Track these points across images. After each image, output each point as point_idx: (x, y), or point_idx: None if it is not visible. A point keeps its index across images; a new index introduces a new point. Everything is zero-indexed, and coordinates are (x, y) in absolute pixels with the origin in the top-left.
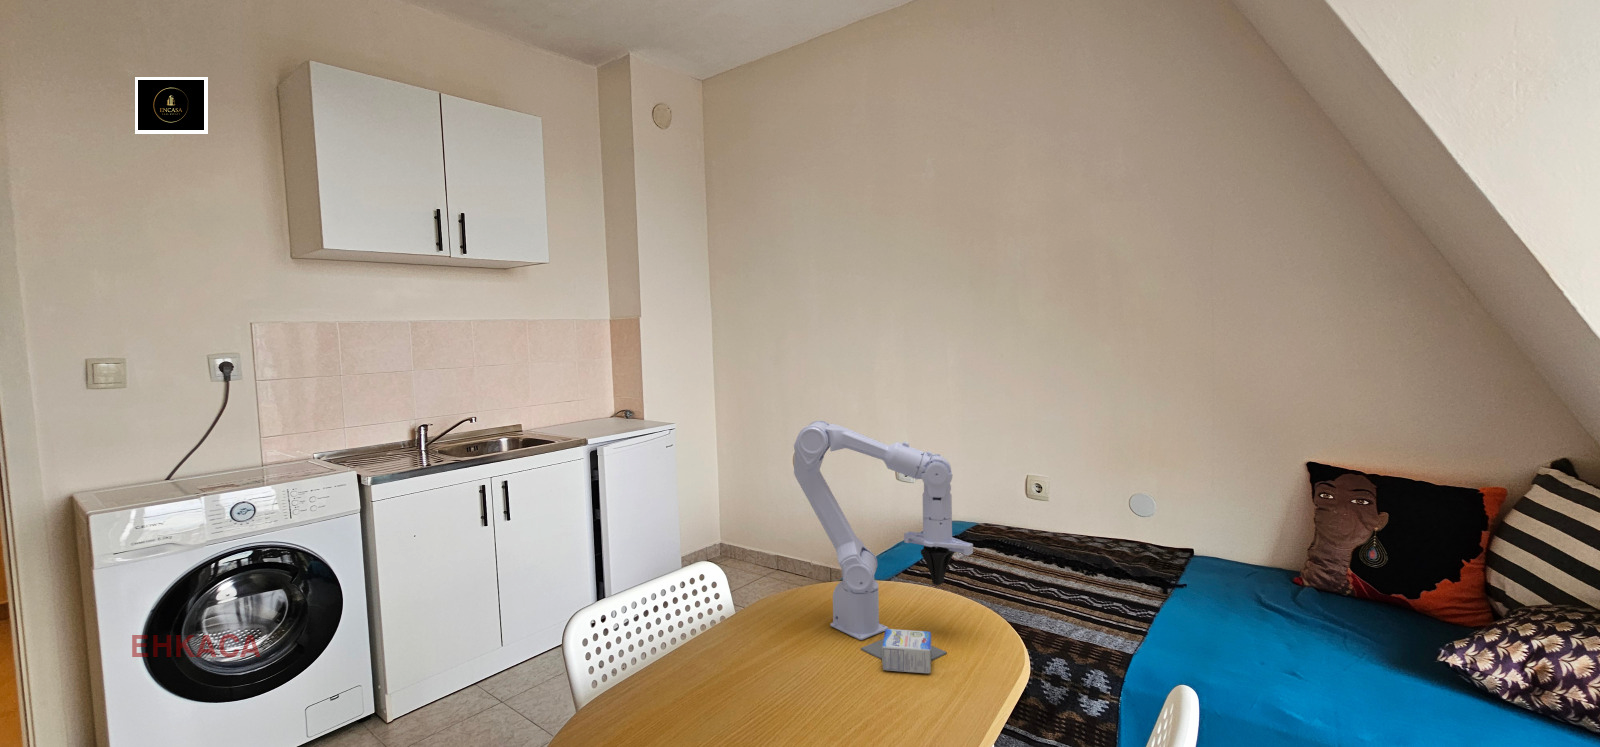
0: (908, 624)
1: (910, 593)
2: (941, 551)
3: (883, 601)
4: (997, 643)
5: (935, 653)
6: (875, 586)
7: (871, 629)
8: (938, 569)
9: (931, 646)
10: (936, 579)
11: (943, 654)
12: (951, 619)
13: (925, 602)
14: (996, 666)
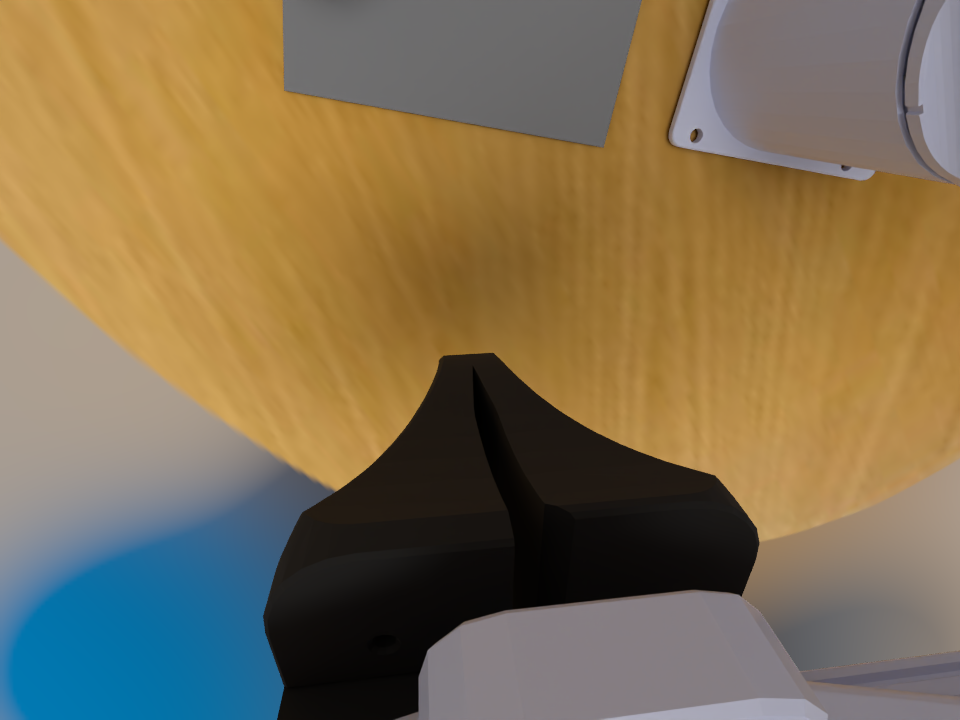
0: (610, 263)
1: None
2: (383, 660)
3: (793, 384)
4: (204, 348)
5: (315, 26)
6: (941, 59)
7: (736, 4)
8: (420, 421)
9: (384, 98)
10: (453, 369)
11: (285, 58)
12: None
13: None
14: (15, 129)
